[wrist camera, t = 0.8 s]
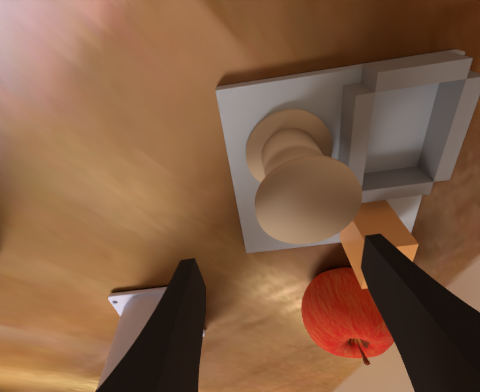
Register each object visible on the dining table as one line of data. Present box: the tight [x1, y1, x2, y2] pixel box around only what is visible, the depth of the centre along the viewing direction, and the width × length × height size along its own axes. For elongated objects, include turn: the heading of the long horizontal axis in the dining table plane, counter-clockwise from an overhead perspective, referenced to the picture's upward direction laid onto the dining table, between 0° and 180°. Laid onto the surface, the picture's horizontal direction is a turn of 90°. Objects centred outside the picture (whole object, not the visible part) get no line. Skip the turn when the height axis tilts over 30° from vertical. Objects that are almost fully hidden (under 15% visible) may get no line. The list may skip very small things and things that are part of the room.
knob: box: [246, 108, 362, 244], centre depth 16 cm, size 6×6×6 cm
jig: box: [216, 49, 480, 254], centre depth 20 cm, size 14×14×3 cm
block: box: [339, 200, 419, 289], centre depth 21 cm, size 4×3×5 cm
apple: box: [301, 267, 394, 365], centre depth 25 cm, size 8×8×8 cm
